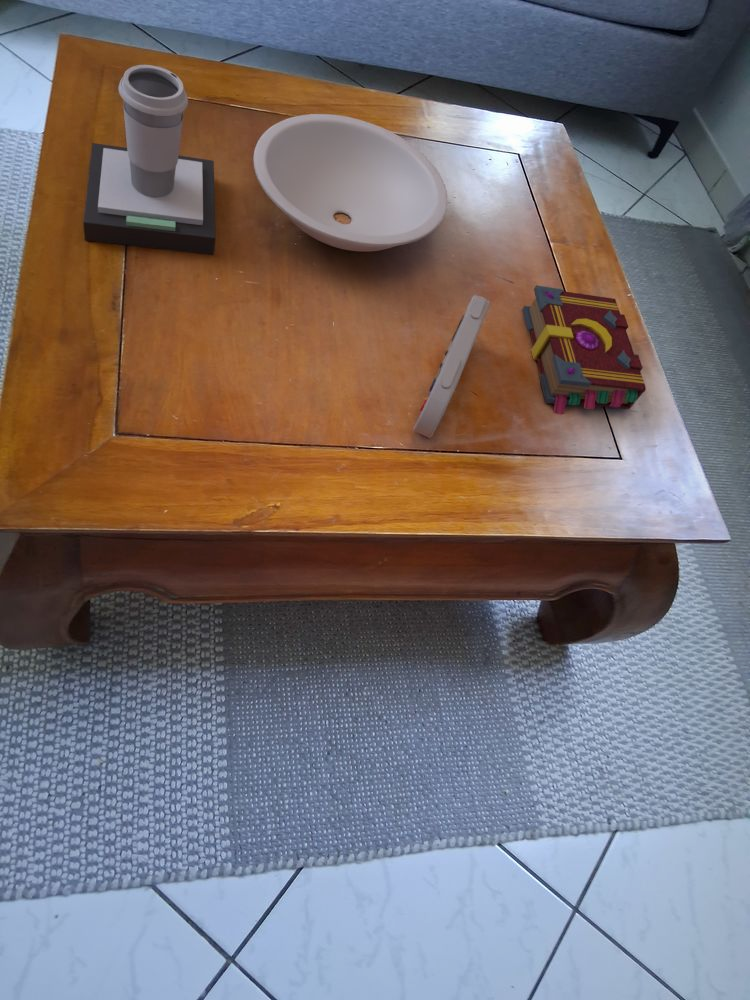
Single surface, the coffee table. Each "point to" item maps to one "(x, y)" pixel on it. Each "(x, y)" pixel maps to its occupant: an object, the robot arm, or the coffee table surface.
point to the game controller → (451, 367)
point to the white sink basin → (350, 181)
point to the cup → (153, 126)
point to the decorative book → (582, 350)
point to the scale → (149, 205)
